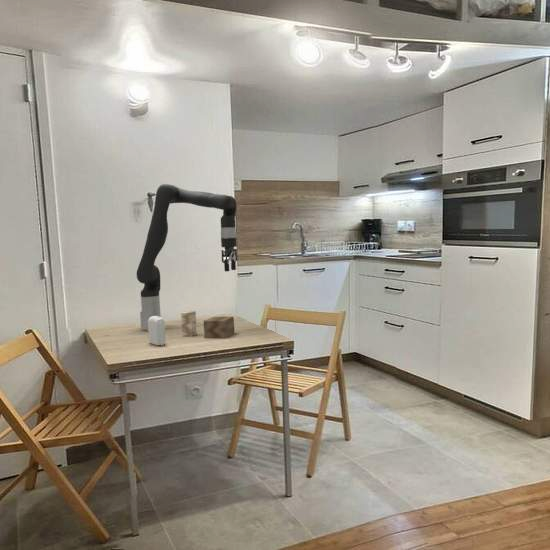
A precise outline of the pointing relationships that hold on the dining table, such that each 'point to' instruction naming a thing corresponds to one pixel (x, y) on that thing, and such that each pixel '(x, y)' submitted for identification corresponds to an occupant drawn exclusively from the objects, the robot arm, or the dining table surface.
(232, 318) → the walnut block
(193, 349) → the dining table surface
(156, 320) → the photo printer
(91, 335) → the dining table surface
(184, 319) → the maple block
